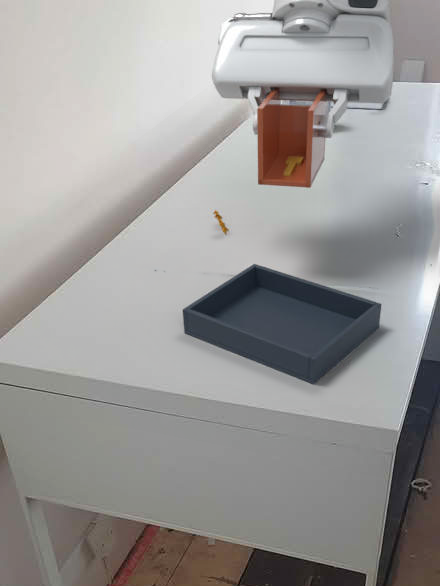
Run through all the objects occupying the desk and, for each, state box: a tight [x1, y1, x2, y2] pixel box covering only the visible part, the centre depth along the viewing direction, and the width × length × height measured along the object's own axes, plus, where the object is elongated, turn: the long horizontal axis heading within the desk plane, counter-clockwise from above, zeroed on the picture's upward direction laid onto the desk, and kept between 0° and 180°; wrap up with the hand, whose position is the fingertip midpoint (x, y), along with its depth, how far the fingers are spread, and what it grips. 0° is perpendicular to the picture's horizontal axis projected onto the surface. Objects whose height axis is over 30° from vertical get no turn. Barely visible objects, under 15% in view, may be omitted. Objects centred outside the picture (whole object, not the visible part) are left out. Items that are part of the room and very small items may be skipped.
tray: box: [182, 263, 382, 385], centre depth 79 cm, size 17×13×3 cm
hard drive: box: [331, 101, 386, 110], centre depth 143 cm, size 2×8×12 cm
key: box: [284, 156, 304, 176], centre depth 83 cm, size 5×2×1 cm, turn 164°
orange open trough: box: [257, 88, 327, 189], centre depth 81 cm, size 9×6×8 cm, turn 164°
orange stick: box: [213, 209, 229, 235], centre depth 101 cm, size 8×1×1 cm, turn 11°
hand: (292, 133), depth 80 cm, fingers closed on orange open trough, 6 cm apart
